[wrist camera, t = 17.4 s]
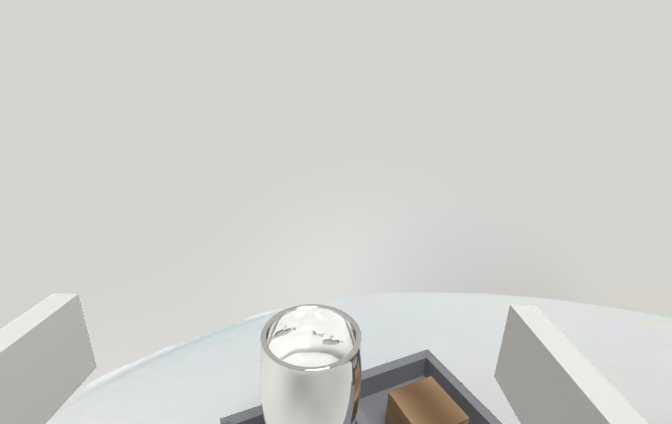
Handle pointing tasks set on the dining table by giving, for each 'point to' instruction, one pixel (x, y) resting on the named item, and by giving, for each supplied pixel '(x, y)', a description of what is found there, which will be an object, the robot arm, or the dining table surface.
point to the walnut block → (423, 405)
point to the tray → (391, 378)
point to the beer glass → (310, 367)
